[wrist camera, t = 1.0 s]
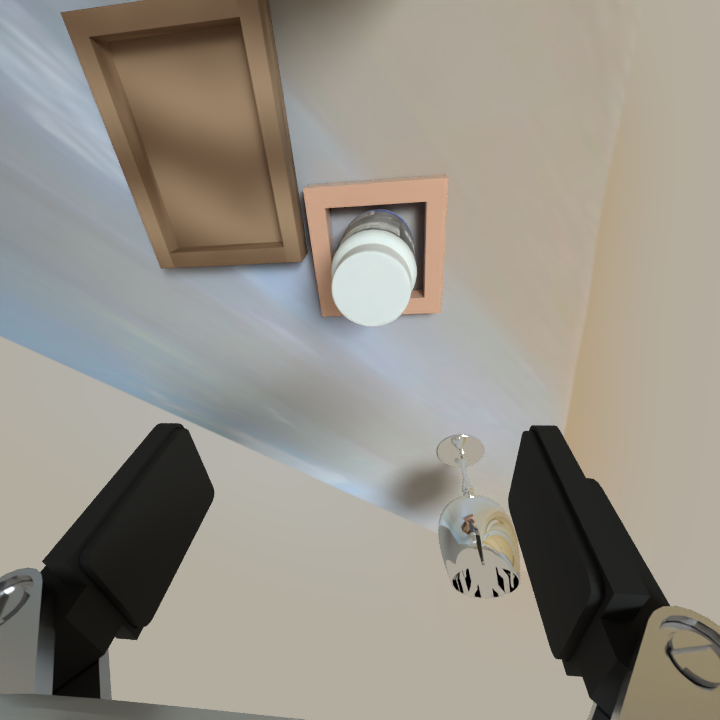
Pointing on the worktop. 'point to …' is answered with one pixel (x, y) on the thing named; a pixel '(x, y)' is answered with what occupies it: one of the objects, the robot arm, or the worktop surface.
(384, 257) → the pill bottle
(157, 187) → the tray
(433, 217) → the frame
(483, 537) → the wineglass
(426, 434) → the worktop surface
